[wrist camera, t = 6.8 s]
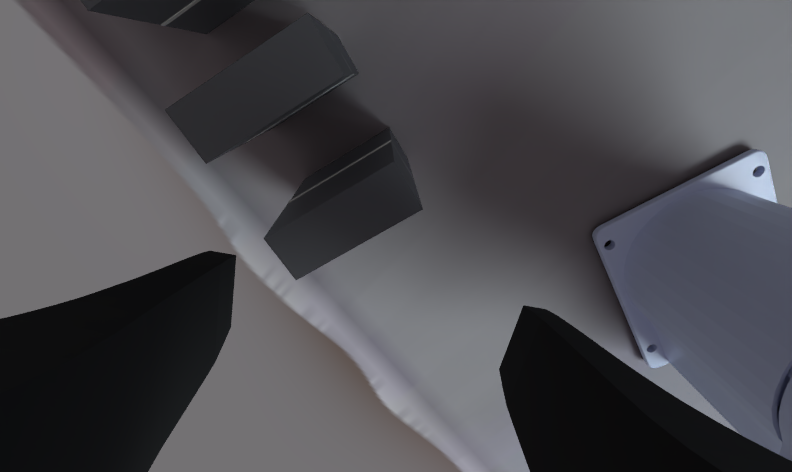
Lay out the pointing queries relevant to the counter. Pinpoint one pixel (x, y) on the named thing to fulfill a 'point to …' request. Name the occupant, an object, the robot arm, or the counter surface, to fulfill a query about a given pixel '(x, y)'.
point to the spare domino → (345, 205)
